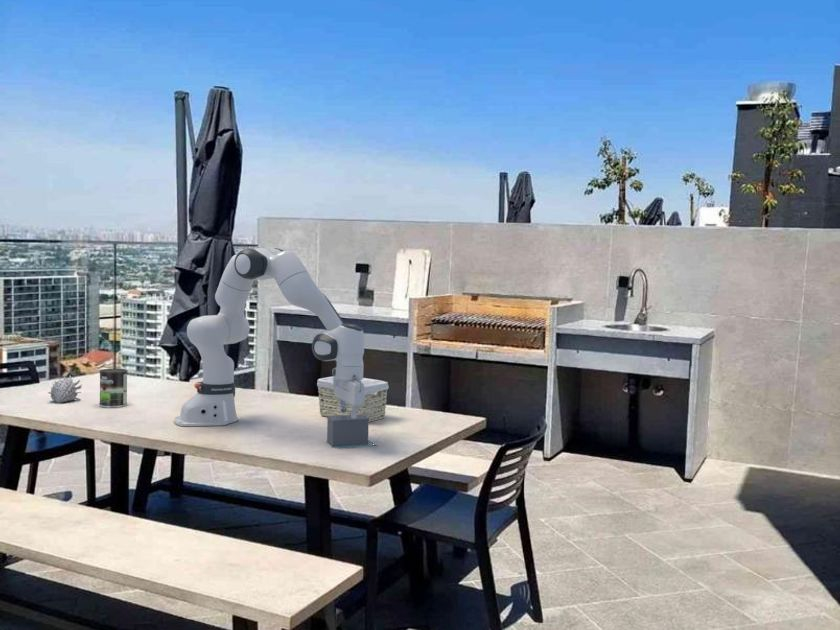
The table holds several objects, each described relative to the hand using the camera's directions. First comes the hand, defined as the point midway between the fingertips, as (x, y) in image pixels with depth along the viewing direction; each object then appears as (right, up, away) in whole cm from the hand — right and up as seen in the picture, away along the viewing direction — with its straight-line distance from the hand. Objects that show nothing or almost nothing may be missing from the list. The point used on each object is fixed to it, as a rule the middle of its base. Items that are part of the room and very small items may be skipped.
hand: (348, 415), depth 256 cm
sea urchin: (-119, -2, +58) cm, 133 cm away
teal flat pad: (+1, -10, +1) cm, 10 cm away
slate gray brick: (0, -10, 0) cm, 10 cm away
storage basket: (-2, -7, +43) cm, 44 cm away
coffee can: (-98, -3, +53) cm, 112 cm away
